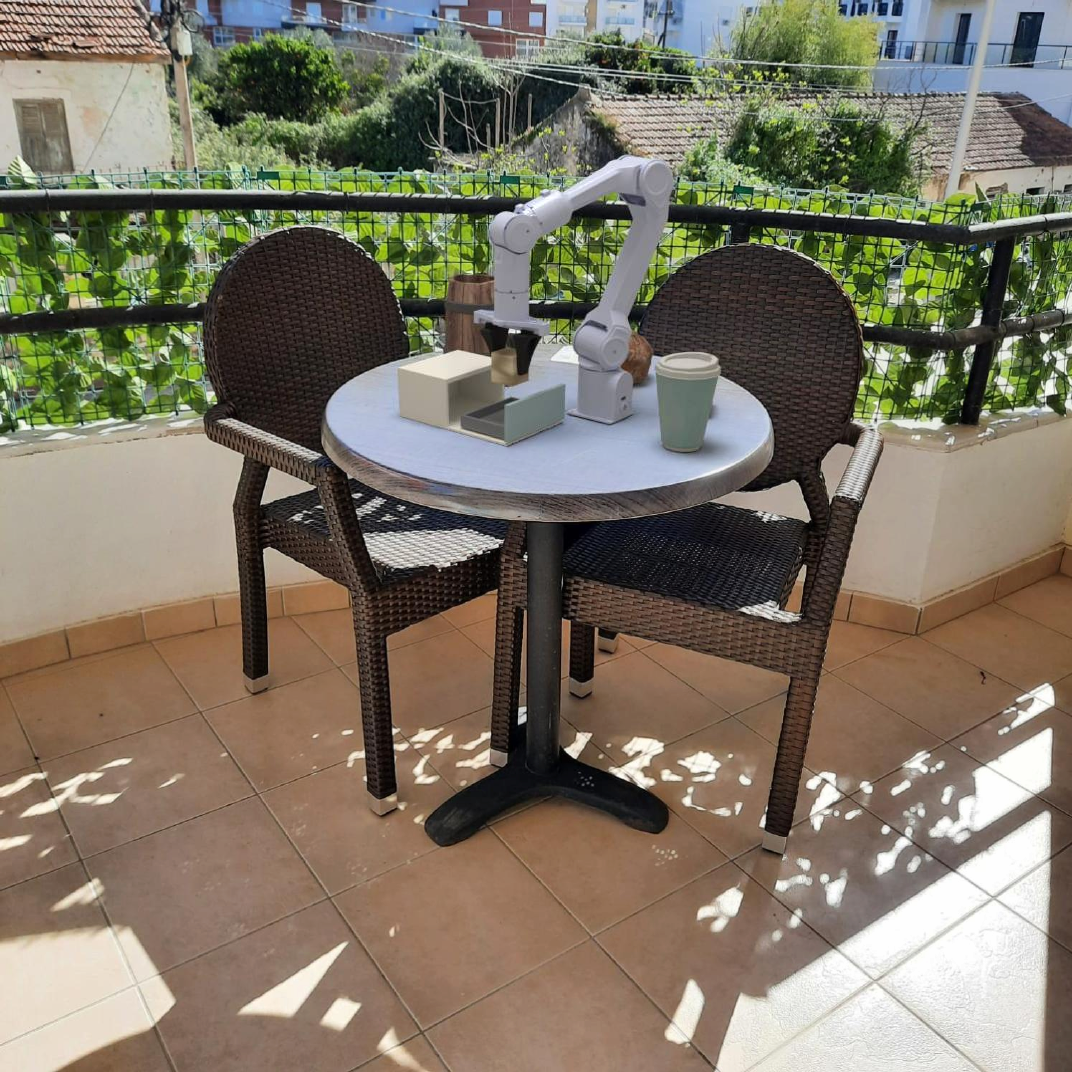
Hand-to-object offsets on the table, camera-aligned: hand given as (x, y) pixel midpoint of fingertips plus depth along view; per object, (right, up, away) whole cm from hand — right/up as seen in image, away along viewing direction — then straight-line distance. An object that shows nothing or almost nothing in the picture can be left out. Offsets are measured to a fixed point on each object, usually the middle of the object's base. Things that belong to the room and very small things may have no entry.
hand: (510, 371), depth 163 cm
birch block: (0, -2, +1) cm, 2 cm away
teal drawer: (0, -9, +4) cm, 10 cm away
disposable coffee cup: (+28, -13, -2) cm, 31 cm away
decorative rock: (+22, +4, +33) cm, 39 cm away
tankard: (-6, +5, +33) cm, 34 cm away
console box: (-6, -7, +8) cm, 12 cm away
